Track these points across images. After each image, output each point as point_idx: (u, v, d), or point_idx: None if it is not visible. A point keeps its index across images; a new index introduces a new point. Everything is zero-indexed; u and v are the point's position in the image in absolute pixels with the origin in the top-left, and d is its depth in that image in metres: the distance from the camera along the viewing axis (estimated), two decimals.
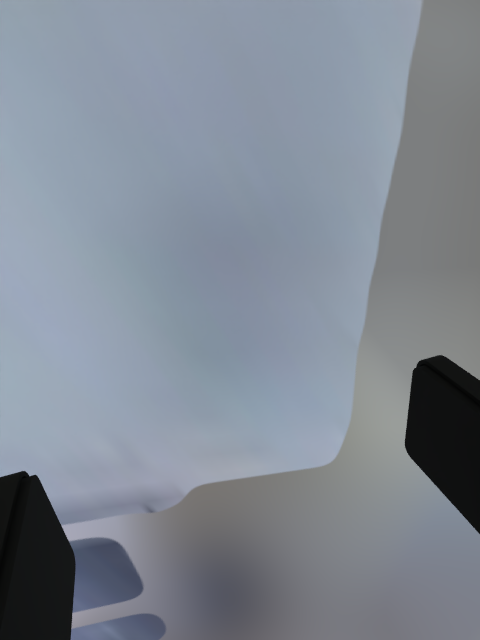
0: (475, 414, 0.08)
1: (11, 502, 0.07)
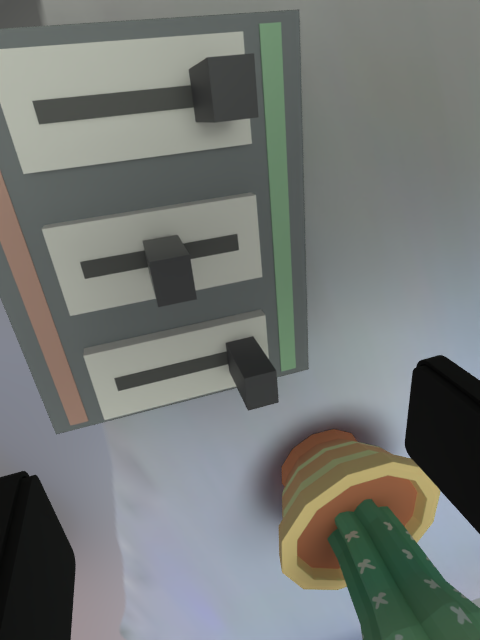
0: (475, 414, 0.08)
1: (11, 502, 0.07)
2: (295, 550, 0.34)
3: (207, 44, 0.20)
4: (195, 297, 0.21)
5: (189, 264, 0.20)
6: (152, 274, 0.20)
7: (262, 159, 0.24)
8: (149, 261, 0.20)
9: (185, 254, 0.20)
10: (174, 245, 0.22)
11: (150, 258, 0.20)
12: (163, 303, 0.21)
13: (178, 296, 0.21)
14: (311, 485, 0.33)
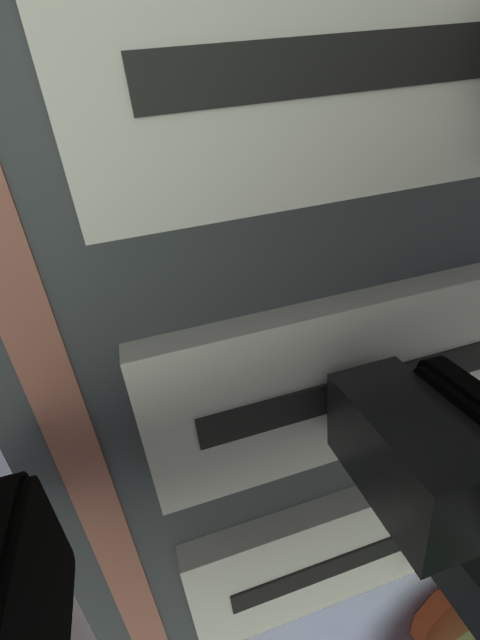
0: (475, 414, 0.08)
1: (11, 502, 0.07)
2: None
3: None
4: None
5: None
6: (433, 521, 0.07)
7: None
8: (432, 491, 0.07)
9: None
10: (430, 404, 0.09)
11: (423, 475, 0.07)
12: (433, 571, 0.08)
13: (470, 550, 0.08)
14: None
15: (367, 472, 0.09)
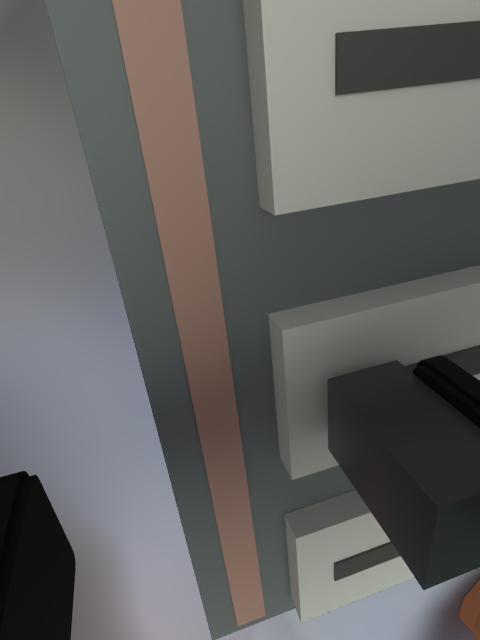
0: (475, 414, 0.08)
1: (11, 502, 0.07)
2: None
3: None
4: None
5: None
6: (436, 531, 0.07)
7: None
8: (435, 501, 0.07)
9: None
10: (432, 409, 0.09)
11: (426, 484, 0.07)
12: (437, 580, 0.08)
13: (474, 559, 0.08)
14: None
15: (368, 479, 0.09)
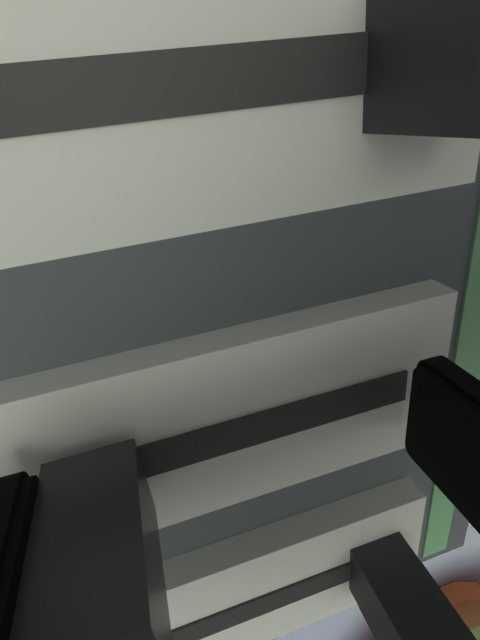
0: (475, 414, 0.08)
1: (11, 502, 0.07)
2: None
3: None
4: None
5: None
6: None
7: (467, 212, 0.11)
8: None
9: (137, 620, 0.06)
10: (115, 516, 0.07)
11: None
12: None
13: None
14: None
15: None
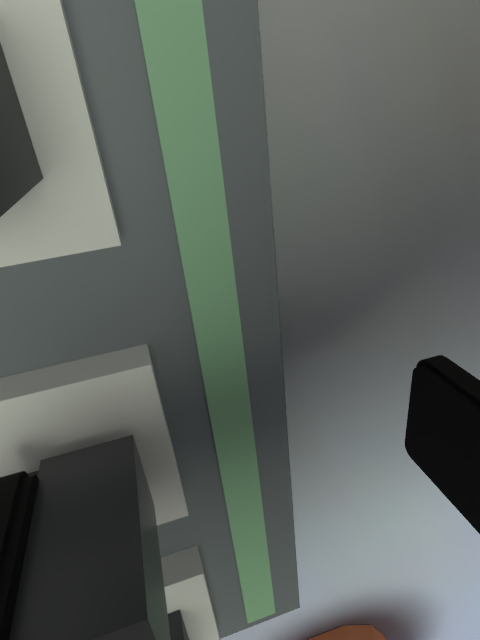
0: (475, 414, 0.08)
1: (11, 502, 0.07)
2: None
3: None
4: None
5: (148, 638, 0.06)
6: None
7: (169, 270, 0.09)
8: None
9: (134, 613, 0.06)
10: (114, 511, 0.08)
11: (16, 631, 0.06)
12: None
13: None
14: None
15: None
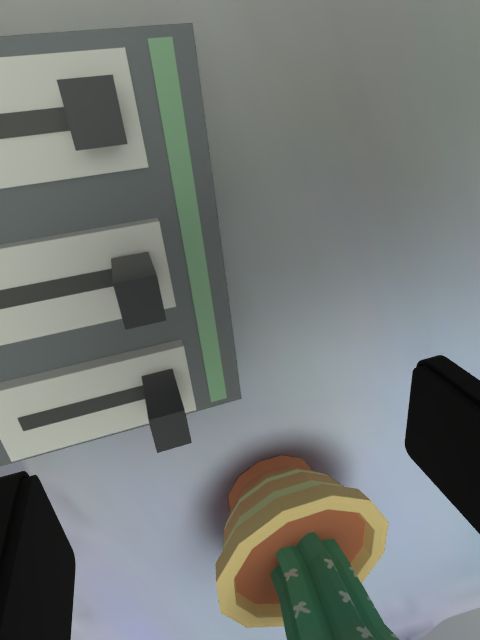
0: (475, 414, 0.08)
1: (11, 502, 0.07)
2: (232, 590, 0.32)
3: (84, 62, 0.18)
4: (164, 318, 0.20)
5: (157, 284, 0.19)
6: (117, 296, 0.19)
7: (166, 183, 0.23)
8: (114, 282, 0.19)
9: (152, 274, 0.19)
10: (143, 263, 0.21)
11: (115, 279, 0.19)
12: (130, 326, 0.20)
13: (146, 317, 0.20)
14: (247, 521, 0.31)
15: None
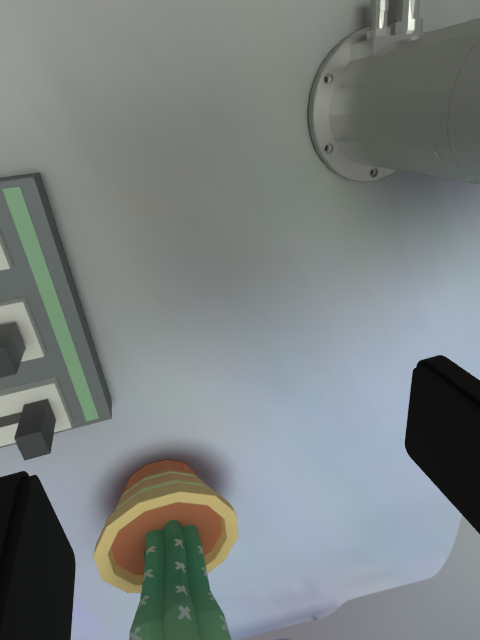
0: (475, 414, 0.08)
1: (11, 502, 0.07)
2: (108, 562, 0.42)
3: None
4: (15, 373, 0.30)
5: (5, 352, 0.29)
6: None
7: (29, 274, 0.33)
8: None
9: (2, 346, 0.29)
10: (3, 334, 0.31)
11: None
12: None
13: (1, 373, 0.30)
14: (117, 510, 0.41)
15: None
